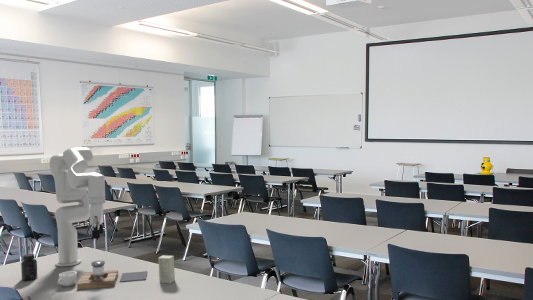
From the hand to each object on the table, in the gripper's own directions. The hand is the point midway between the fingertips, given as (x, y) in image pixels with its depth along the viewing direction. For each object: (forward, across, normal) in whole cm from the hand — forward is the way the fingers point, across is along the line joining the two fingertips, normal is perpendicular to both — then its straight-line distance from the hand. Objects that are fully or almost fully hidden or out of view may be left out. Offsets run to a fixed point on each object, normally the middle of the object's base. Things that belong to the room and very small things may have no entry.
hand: (97, 235), depth 203 cm
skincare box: (+22, +8, +32) cm, 40 cm away
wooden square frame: (+22, 0, 0) cm, 22 cm away
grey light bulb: (+22, 0, 0) cm, 22 cm away
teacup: (+22, +1, -14) cm, 27 cm away
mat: (+22, -3, +16) cm, 27 cm away
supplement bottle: (+22, -13, -34) cm, 43 cm away
